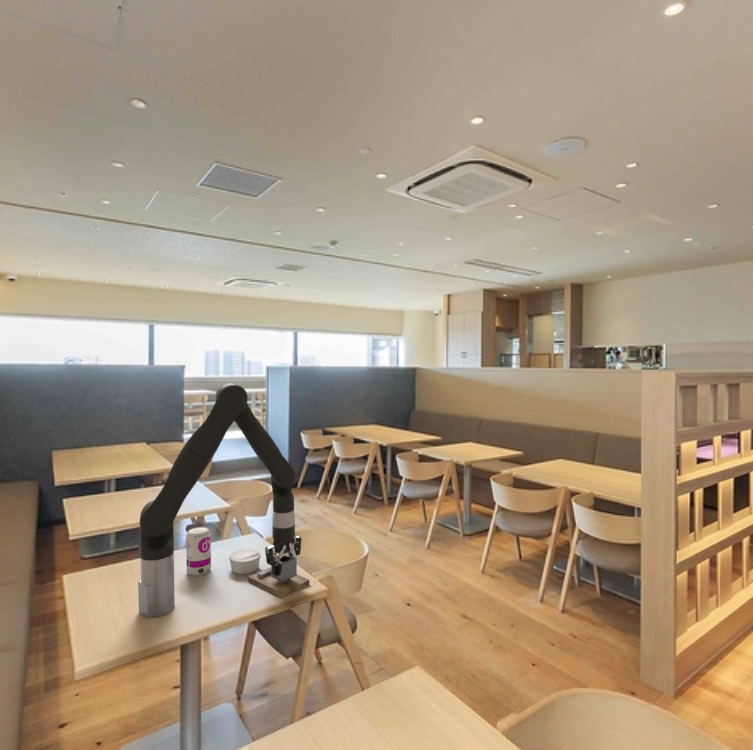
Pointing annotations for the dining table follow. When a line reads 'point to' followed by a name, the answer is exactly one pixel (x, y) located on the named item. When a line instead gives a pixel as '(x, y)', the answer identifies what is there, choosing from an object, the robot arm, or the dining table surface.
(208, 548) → the supplement can
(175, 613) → the dining table surface
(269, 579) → the board
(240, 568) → the ramekin
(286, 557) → the grey hollow cube
